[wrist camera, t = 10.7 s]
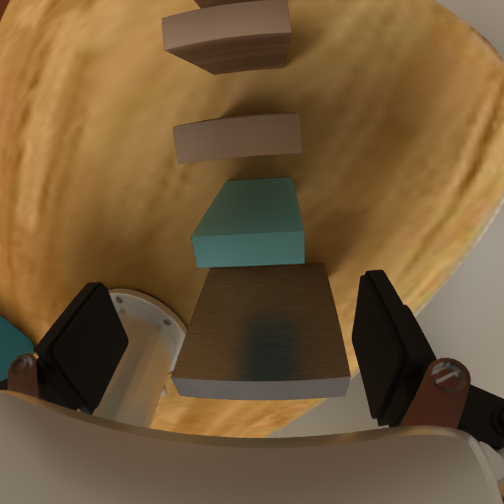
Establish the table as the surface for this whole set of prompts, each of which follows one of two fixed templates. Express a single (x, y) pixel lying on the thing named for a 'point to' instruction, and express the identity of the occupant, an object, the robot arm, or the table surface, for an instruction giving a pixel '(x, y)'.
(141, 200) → the table surface
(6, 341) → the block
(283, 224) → the teal tile
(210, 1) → the walnut tile
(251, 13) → the walnut tile
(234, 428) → the table surface
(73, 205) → the table surface
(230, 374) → the bookend
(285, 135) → the walnut tile
